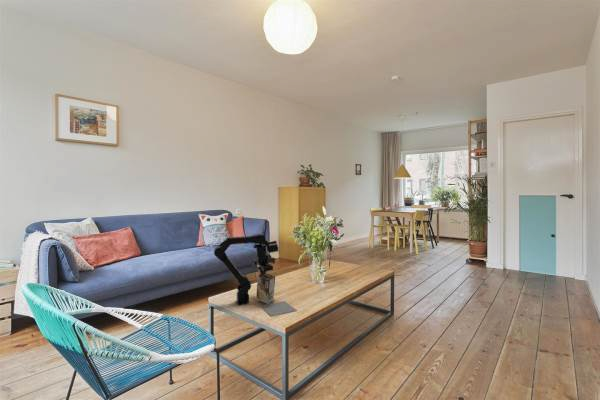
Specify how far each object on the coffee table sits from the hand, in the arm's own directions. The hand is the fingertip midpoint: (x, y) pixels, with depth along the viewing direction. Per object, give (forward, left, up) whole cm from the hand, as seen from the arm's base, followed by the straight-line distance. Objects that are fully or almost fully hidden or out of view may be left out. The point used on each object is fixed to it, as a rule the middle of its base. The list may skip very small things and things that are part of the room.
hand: (263, 278), depth 187 cm
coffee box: (-1, -3, -12) cm, 13 cm away
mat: (+2, -17, -13) cm, 22 cm away
